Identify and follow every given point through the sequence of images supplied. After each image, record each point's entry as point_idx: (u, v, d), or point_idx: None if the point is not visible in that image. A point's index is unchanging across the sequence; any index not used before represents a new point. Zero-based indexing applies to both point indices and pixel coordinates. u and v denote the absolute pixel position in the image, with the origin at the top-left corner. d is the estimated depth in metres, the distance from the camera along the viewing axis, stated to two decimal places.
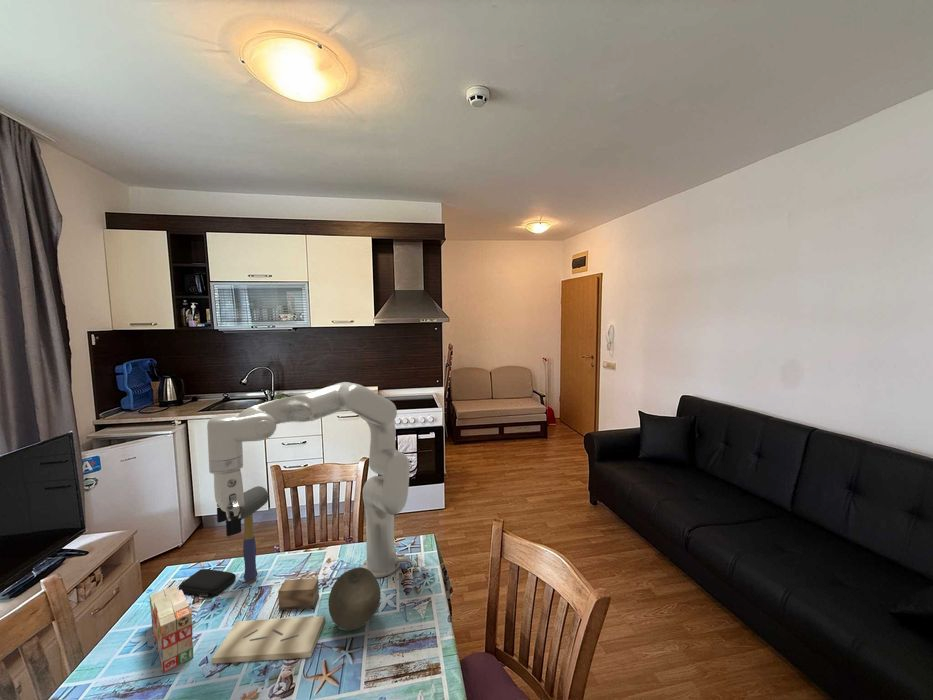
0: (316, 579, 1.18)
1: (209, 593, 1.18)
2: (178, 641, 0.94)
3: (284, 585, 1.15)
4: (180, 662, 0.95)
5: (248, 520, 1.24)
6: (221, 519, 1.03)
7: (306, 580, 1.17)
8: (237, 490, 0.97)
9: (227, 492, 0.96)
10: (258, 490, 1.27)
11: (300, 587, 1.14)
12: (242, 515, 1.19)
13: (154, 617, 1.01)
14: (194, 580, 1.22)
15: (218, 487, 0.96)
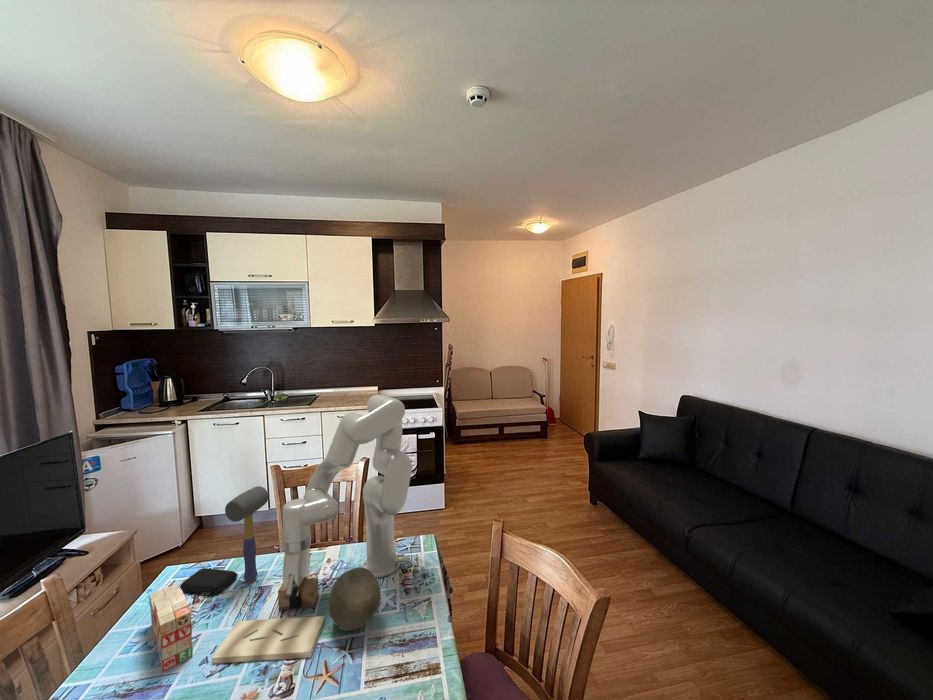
0: (316, 579, 1.18)
1: (212, 591, 1.19)
2: (177, 640, 0.95)
3: None
4: (179, 661, 0.95)
5: (248, 520, 1.24)
6: None
7: (306, 580, 1.17)
8: None
9: None
10: (258, 490, 1.27)
11: None
12: (242, 515, 1.19)
13: (154, 616, 1.02)
14: (196, 579, 1.23)
15: (308, 554, 1.17)
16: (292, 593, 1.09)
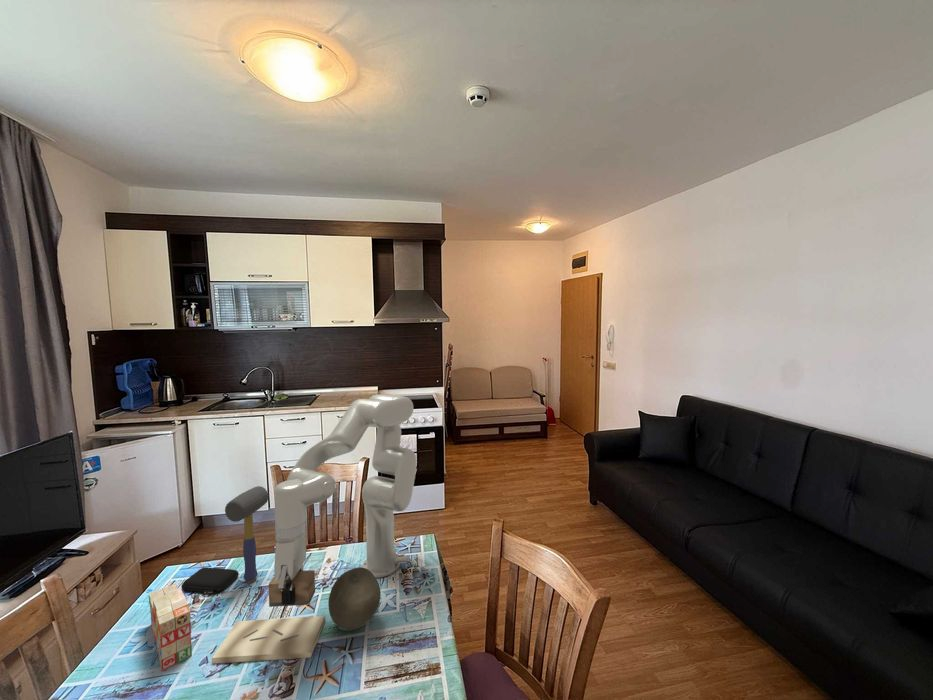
0: (312, 571, 1.03)
1: (214, 590, 1.20)
2: (177, 639, 0.95)
3: None
4: (179, 660, 0.95)
5: (248, 520, 1.24)
6: None
7: (301, 572, 1.03)
8: None
9: None
10: (258, 490, 1.27)
11: None
12: (242, 515, 1.19)
13: (153, 615, 1.02)
14: (197, 579, 1.23)
15: (304, 542, 1.03)
16: (285, 587, 0.95)
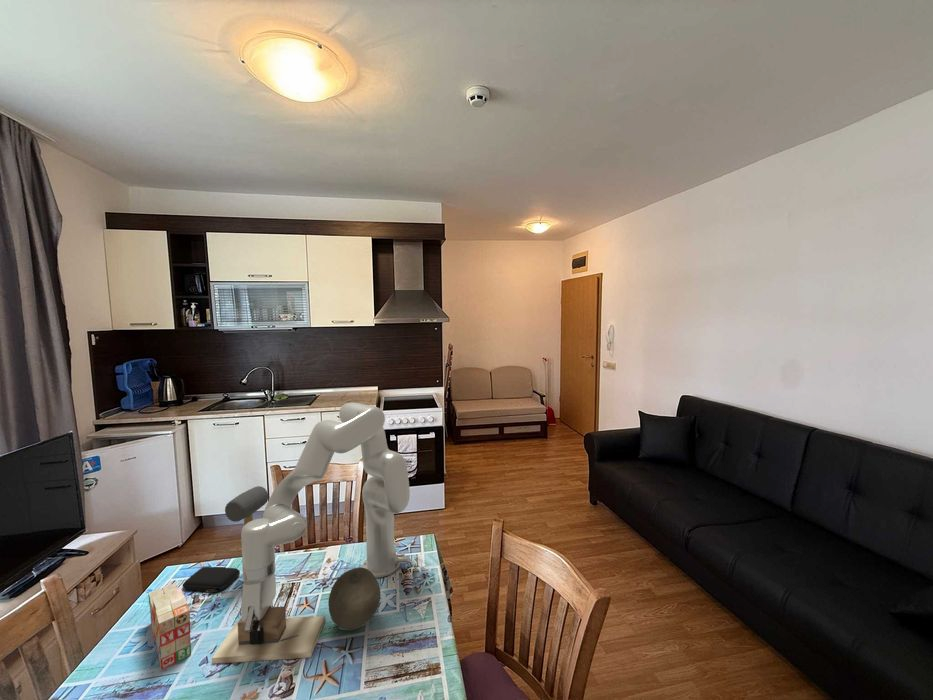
0: (283, 607, 1.03)
1: (216, 588, 1.20)
2: (176, 638, 0.95)
3: None
4: (178, 659, 0.96)
5: (248, 520, 1.24)
6: None
7: (271, 609, 1.03)
8: None
9: None
10: (258, 490, 1.27)
11: (263, 617, 1.00)
12: (242, 515, 1.19)
13: (153, 615, 1.02)
14: (198, 578, 1.24)
15: (273, 581, 1.03)
16: (252, 628, 0.95)
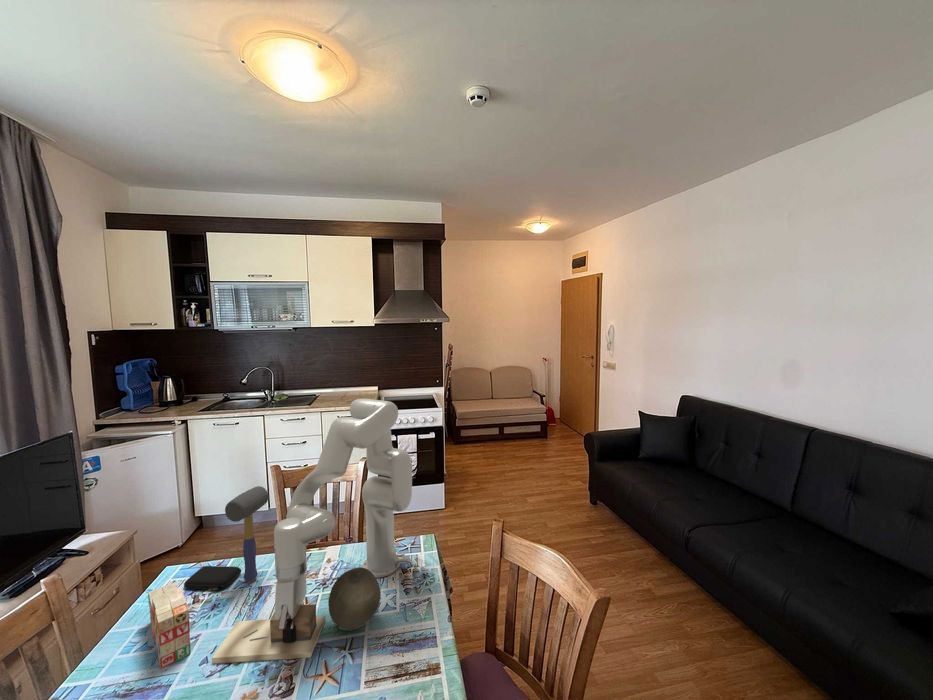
0: (313, 605, 1.04)
1: (219, 586, 1.21)
2: (175, 637, 0.95)
3: None
4: (177, 658, 0.96)
5: (248, 520, 1.24)
6: None
7: (302, 607, 1.03)
8: None
9: None
10: (258, 490, 1.27)
11: None
12: (242, 515, 1.19)
13: (152, 614, 1.02)
14: (200, 577, 1.24)
15: (304, 579, 1.04)
16: (285, 627, 0.95)
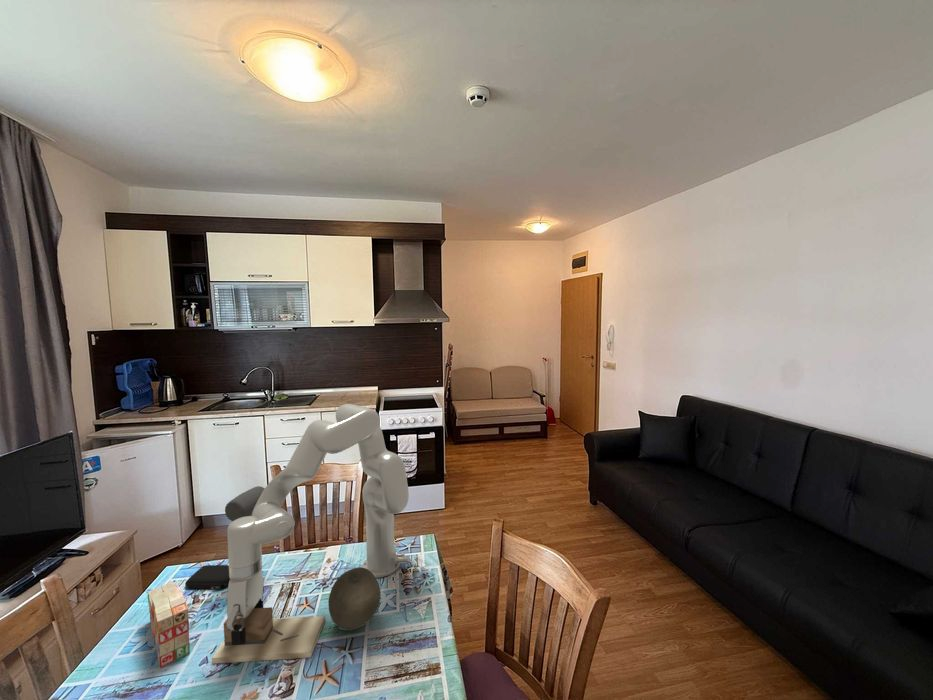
0: (269, 608, 1.03)
1: (221, 585, 1.22)
2: (175, 636, 0.96)
3: None
4: (177, 657, 0.96)
5: None
6: None
7: (258, 610, 1.03)
8: None
9: None
10: (258, 490, 1.27)
11: (249, 618, 1.00)
12: (242, 515, 1.19)
13: (152, 613, 1.03)
14: (201, 576, 1.25)
15: (259, 579, 1.03)
16: (233, 626, 0.93)
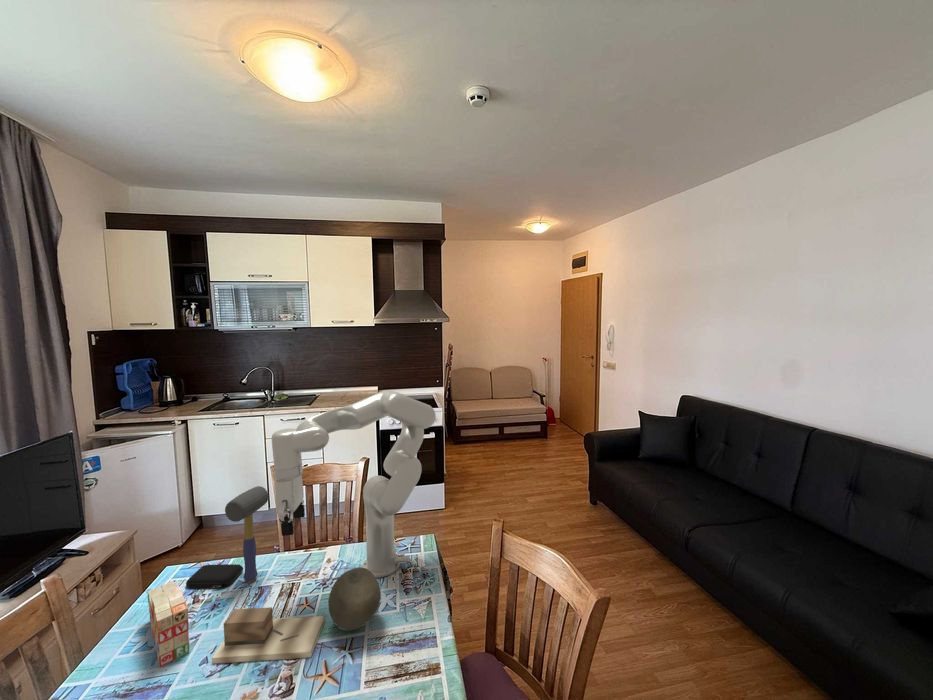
0: (269, 608, 1.03)
1: (223, 584, 1.23)
2: (174, 636, 0.96)
3: (232, 616, 1.01)
4: (176, 657, 0.96)
5: (248, 520, 1.24)
6: None
7: (258, 610, 1.03)
8: None
9: None
10: (258, 490, 1.27)
11: (249, 618, 1.00)
12: (242, 515, 1.19)
13: (152, 612, 1.03)
14: (202, 575, 1.25)
15: (301, 483, 1.17)
16: (284, 516, 1.07)
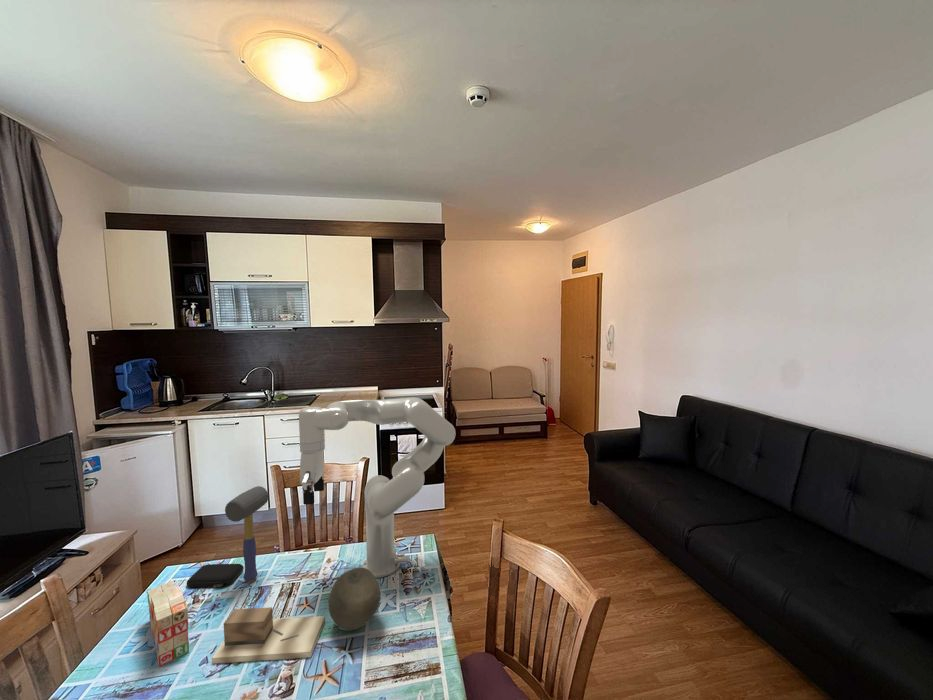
0: (269, 608, 1.03)
1: (224, 583, 1.23)
2: (174, 635, 0.96)
3: (232, 616, 1.01)
4: (176, 656, 0.97)
5: (248, 520, 1.24)
6: None
7: (258, 610, 1.03)
8: None
9: None
10: (258, 490, 1.27)
11: (249, 618, 1.00)
12: (242, 515, 1.19)
13: (151, 612, 1.03)
14: (203, 575, 1.25)
15: (322, 458, 1.26)
16: (306, 485, 1.16)
